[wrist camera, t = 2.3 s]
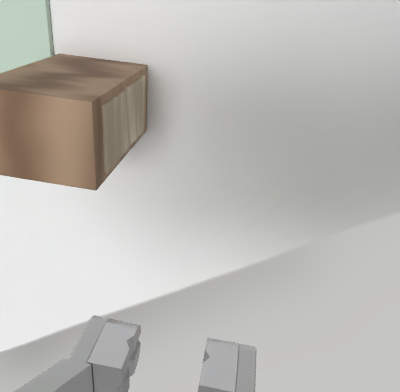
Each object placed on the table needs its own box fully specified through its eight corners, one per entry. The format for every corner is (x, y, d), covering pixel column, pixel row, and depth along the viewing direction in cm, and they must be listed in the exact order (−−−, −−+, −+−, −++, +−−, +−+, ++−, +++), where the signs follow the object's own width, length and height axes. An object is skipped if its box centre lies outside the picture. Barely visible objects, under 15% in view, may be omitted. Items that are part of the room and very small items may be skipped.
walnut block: (149, 65, 33) (94, 102, 22) (147, 131, 36) (99, 190, 25) (59, 53, 33) (-34, 84, 23) (65, 119, 36) (-16, 172, 26)
